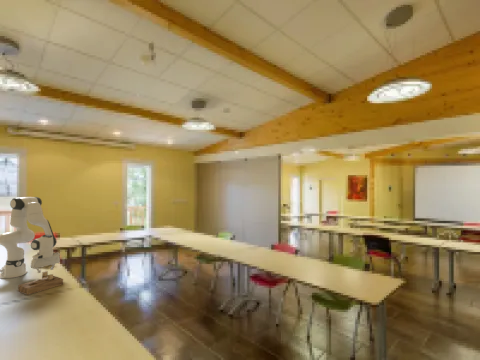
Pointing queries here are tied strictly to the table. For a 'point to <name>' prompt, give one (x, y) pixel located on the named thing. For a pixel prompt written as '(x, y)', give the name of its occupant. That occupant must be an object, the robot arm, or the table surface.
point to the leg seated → (50, 277)
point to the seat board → (39, 285)
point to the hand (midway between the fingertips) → (45, 271)
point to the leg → (44, 274)
